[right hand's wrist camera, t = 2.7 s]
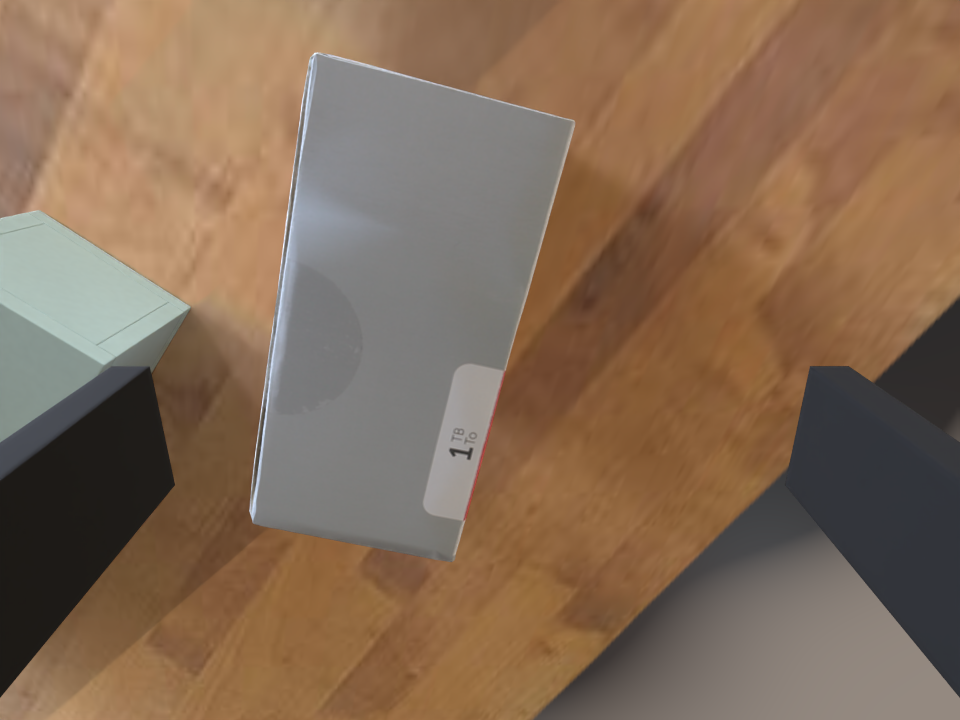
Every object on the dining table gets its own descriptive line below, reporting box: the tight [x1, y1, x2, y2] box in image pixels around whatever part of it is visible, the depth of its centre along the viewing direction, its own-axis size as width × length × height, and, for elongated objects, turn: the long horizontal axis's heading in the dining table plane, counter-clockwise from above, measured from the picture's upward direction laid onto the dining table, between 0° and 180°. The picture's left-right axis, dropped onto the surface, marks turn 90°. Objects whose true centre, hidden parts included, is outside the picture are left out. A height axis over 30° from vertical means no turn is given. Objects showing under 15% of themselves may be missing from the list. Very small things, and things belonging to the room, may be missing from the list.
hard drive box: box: [249, 53, 575, 562], centre depth 28 cm, size 16×8×20 cm, turn 166°
